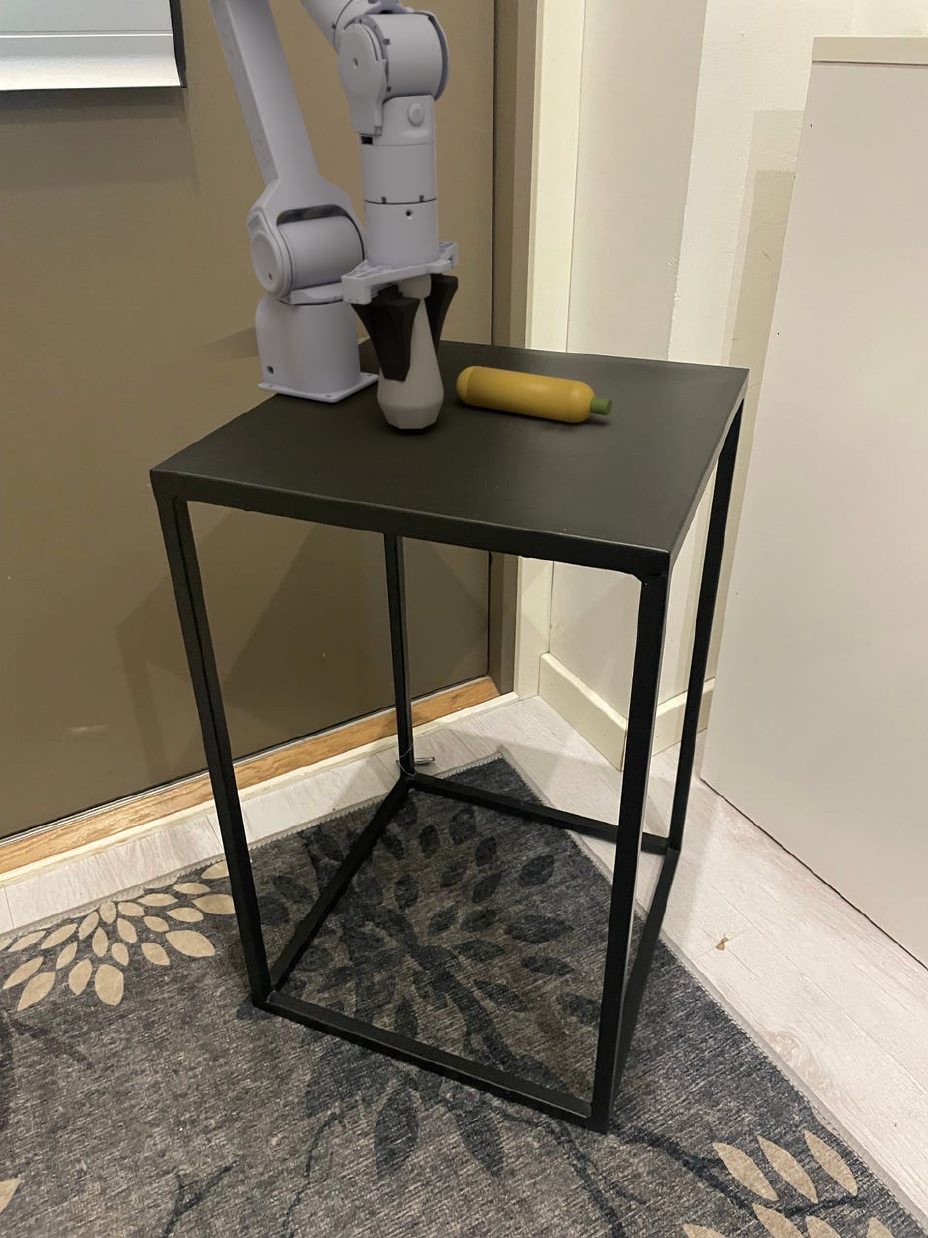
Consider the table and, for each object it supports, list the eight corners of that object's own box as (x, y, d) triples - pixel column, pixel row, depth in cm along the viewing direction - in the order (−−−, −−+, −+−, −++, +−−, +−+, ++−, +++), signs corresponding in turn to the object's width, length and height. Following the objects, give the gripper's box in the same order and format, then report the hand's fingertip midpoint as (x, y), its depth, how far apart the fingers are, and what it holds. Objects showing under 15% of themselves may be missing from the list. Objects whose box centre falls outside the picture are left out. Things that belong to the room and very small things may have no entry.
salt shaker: (443, 432, 79) (438, 273, 71) (376, 433, 79) (364, 275, 72) (445, 408, 83) (440, 257, 76) (382, 409, 84) (372, 258, 77)
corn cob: (449, 407, 86) (448, 369, 84) (468, 395, 88) (467, 358, 87) (600, 433, 80) (602, 393, 78) (615, 420, 82) (618, 381, 80)
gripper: (393, 217, 64) (403, 404, 72) (489, 188, 75) (490, 354, 82) (312, 210, 67) (330, 391, 75) (415, 183, 78) (422, 344, 85)
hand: (409, 371), depth 79 cm, fingers closed on salt shaker, 4 cm apart
